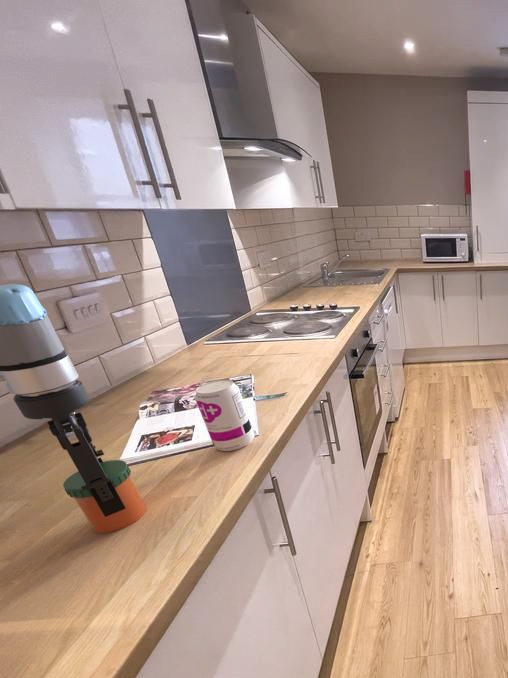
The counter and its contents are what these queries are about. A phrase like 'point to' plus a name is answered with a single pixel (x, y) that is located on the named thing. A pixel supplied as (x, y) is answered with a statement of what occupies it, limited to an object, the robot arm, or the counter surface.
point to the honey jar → (118, 519)
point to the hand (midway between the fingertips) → (110, 500)
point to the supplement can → (224, 415)
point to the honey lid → (112, 469)
